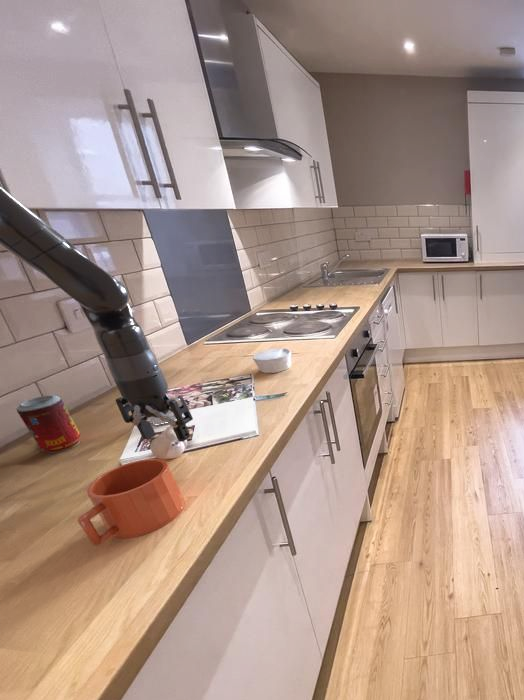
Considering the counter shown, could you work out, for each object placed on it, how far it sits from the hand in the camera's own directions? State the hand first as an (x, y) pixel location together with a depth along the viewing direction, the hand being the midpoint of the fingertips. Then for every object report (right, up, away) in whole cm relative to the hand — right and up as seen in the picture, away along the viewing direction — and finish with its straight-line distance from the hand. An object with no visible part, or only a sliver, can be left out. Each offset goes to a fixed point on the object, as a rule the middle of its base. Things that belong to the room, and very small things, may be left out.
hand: (167, 438), depth 91 cm
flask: (-14, +3, +17) cm, 23 cm away
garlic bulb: (0, -4, +2) cm, 5 cm away
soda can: (-30, -3, +6) cm, 31 cm away
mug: (+10, -13, -17) cm, 23 cm away
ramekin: (-3, +17, +48) cm, 51 cm away
